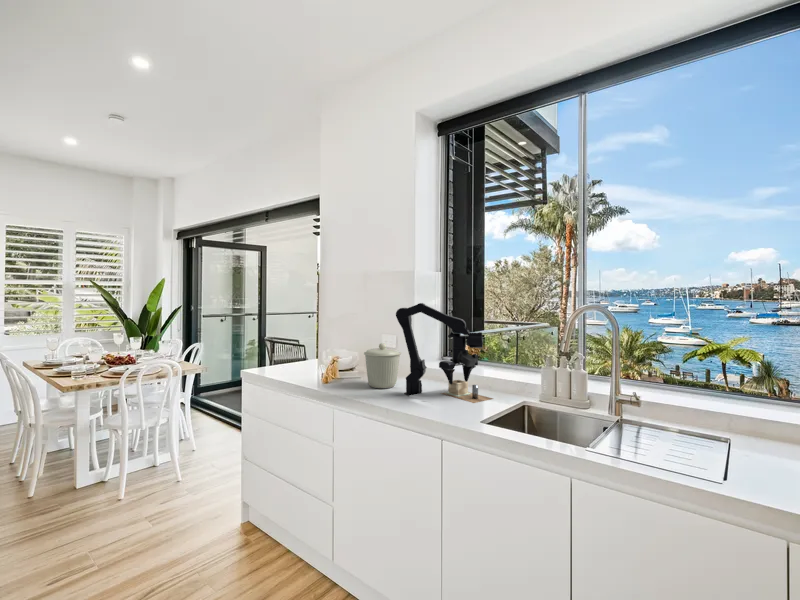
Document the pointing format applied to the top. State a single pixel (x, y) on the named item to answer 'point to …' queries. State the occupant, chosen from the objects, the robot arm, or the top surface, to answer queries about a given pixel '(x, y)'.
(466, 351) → the robot arm
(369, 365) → the canister
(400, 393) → the top surface
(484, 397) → the board
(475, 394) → the post
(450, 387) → the collar
